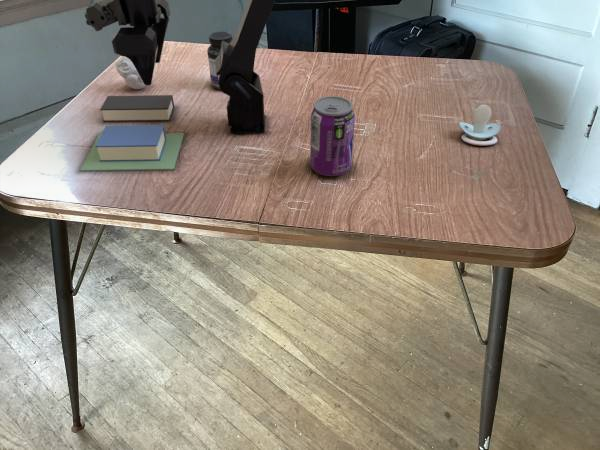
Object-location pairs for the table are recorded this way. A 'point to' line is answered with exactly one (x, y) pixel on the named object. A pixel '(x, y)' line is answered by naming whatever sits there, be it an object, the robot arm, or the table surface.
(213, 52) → the pill bottle
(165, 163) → the green mat
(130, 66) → the frog figurine
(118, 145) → the blue book
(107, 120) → the black notebook
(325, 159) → the beverage can
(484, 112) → the pacifier
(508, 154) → the table surface
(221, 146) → the table surface
